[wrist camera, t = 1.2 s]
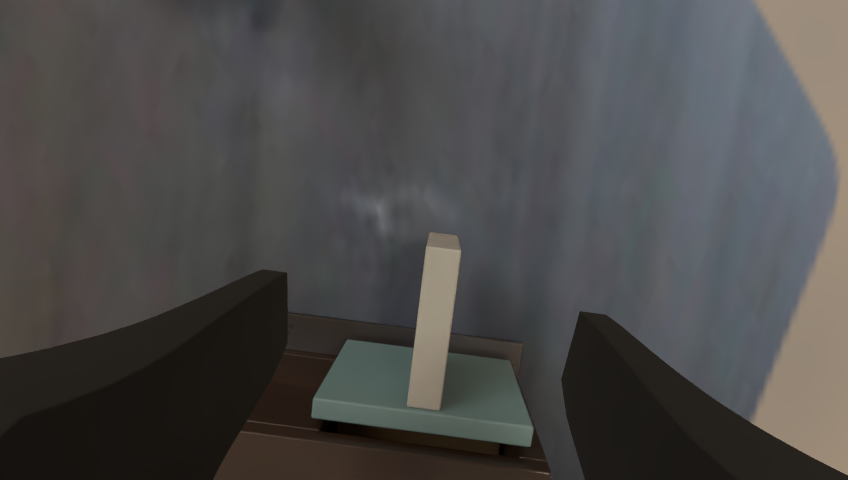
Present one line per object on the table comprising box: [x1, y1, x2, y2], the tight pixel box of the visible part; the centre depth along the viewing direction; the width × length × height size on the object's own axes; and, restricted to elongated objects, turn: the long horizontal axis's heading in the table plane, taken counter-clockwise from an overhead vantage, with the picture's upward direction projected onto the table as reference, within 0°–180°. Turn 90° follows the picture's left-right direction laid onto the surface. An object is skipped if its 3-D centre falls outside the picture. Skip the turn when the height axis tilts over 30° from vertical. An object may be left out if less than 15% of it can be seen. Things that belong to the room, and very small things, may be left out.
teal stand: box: [311, 232, 534, 447], centre depth 19 cm, size 7×8×6 cm
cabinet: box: [213, 312, 551, 480], centre depth 20 cm, size 11×16×8 cm
